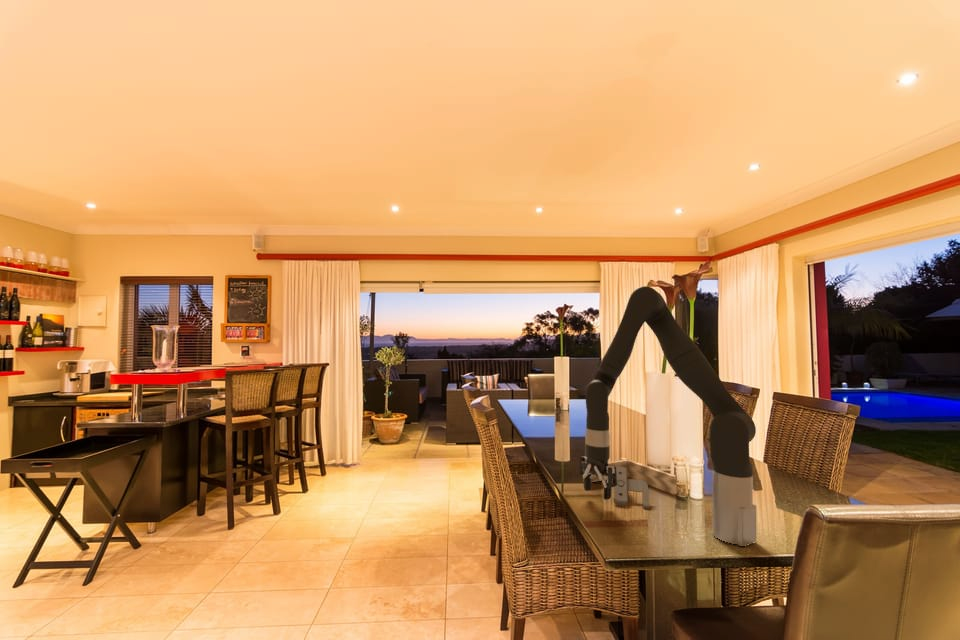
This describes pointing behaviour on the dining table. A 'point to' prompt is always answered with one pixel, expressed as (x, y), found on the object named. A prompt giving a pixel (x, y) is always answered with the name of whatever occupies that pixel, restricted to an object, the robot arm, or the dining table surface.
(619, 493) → the bracket
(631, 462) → the wooden corner joint
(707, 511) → the dining table surface
